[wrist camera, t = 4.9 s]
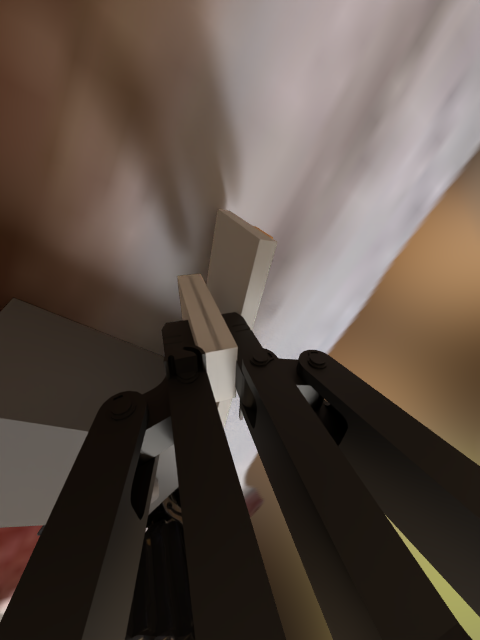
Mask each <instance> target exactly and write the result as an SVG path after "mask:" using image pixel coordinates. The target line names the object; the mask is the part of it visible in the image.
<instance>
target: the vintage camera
mask: <svg viewBox="0 0 480 640" xmlns="http://www.w3.org/2000/svg"><path fill="white" fill-rule="evenodd" d="M44 527H45V525H43V526H42V528H41V529H40V531H39V532H38V533H37V536H38V535H41V533H42V531H43V529H44ZM146 528H148V530H147V531H146V532H145V535H144V540H143V546H142V551H141V556H140V562H139V567H138V572H137V578H136V583H135V588H134V594H133V599H132V604H131V610H130V615H129V620H128V625H127V631H126V636H125V640H195V632H194V623H193V614H192V605H191V595H190V586H189V577H188V568H187V559H186V549H185V540H184V531H183V522H182V513H181V504H180V494H179V487H178V488H177V489H176V490H175V491H173V492H172V493H171V494H170V495H169V496H168V497H167V498H166V499H165V500H164V501H163V502H162V503H161V504H160V505H159V506H157V507H156V508H155V509H154V510H153V511H152V512H151V513H150V514H149V515H148V519H147V525H146Z"/></svg>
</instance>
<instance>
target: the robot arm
mask: <svg viewBox="0 0 480 640" xmlns="http://www.w3.org/2000/svg"><path fill="white" fill-rule="evenodd" d="M177 278H178V286H179V295H180V303H181V312H182V319H183V321H176V322H170V323H166V324H165V326H164V327H163V329H162V336H163V344H164V352H165V356H164V361H163V362H164V367H165V372H166V376H165V378H164V380H163V381H162V382H161V383H160V384H159V385H158V386H157V387H155V388H154V389H152V390H150V391H148V392H146V393H144V394H140V393H139V392H136V391H125V392H120V393H118V394H116V395H113V396H111V397H110V398H109V399H108V400H106V401H105V402H104V403H103V404H102V406H101V407H100V409H99V410H98V412H97V414H96V417H95V419H94V421H93V423H92V425H91V427H90V430H89V432H88V434H87V436H86V438H85V440H84V443H83V445H82V447H81V449H80V451H79V453H78V455H77V458H76V460H75V462H74V464H73V466H72V468H71V471H70V473H69V475H68V477H67V479H66V481H65V484H64V486H63V488H62V490H61V492H60V494H59V496H58V499H57V501H56V503H55V505H54V507H53V509H52V512H51V514H50V516H49V518H48V520H47V522H46V525H45V527H44V529H43V531H42V533H41V535H40V538H39V540H38V542H37V544H36V546H35V548H34V550H33V553H32V555H31V557H30V559H29V561H28V563H27V566H26V568H25V570H24V572H23V574H22V576H21V579H20V581H19V583H18V585H17V587H16V589H15V591H14V594H13V596H12V598H11V600H10V602H9V604H8V607H7V609H6V611H5V613H4V615H3V617H2V620H1V622H0V640H125V636H126V631H127V625H128V620H129V615H130V610H131V604H132V599H133V594H134V588H135V583H136V578H137V572H138V567H139V562H140V556H141V551H142V546H143V540H144V535H145V530H146V525H147V519H148V514H149V509H150V503H151V498H152V493H153V487H154V482H155V477H156V471H157V466H158V461H159V455H160V453H161V452H163V451H164V450H166V449H168V448H169V447H171V446H172V445H174V449H175V458H176V467H177V476H178V485H179V494H180V504H181V513H182V522H183V531H184V540H185V549H186V559H187V568H188V577H189V586H190V595H191V605H192V614H193V623H194V632H195V640H286V638H285V634H284V631H283V628H282V624H281V621H280V618H279V614H278V611H277V607H276V604H275V601H274V597H273V594H272V591H271V587H270V584H269V580H268V577H267V574H266V570H265V567H264V563H263V560H262V557H261V553H260V550H259V546H258V544H257V540H256V536H255V533H254V530H253V526H252V523H251V519H250V516H249V513H248V509H247V506H246V503H245V499H244V496H243V492H242V489H241V486H240V482H239V479H238V475H237V472H236V469H235V465H234V462H233V459H232V455H231V452H230V448H229V445H228V442H227V438H226V435H225V432H224V428H223V425H222V421H221V418H220V415H219V411H218V408H217V405H216V402H220V401H224V400H227V399H231V398H235V397H236V390H237V392H238V395H239V397H240V409H239V418H240V420H243V416H244V418H245V421H246V423H247V426H248V428H249V431H250V433H251V436H252V438H253V441H254V443H255V446H256V448H257V451H258V453H259V456H260V458H261V461H262V463H263V466H264V468H265V471H266V473H267V475H268V478H269V481H270V483H271V486H272V488H273V491H274V493H275V496H276V498H277V501H278V503H279V505H280V508H281V511H282V513H283V516H284V518H285V521H286V523H287V526H288V528H289V531H290V533H291V535H292V538H293V541H294V543H295V546H296V548H297V551H298V553H299V555H300V557H301V560H302V563H303V566H304V568H305V570H306V573H307V575H308V578H309V580H310V583H311V585H312V588H313V590H314V593H315V595H316V598H317V600H318V603H319V605H320V608H321V610H322V613H323V615H324V618H325V620H326V623H327V625H328V628H329V630H330V633H331V635H332V638H333V640H472V639H471V637H470V636H469V635H468V634H467V633H466V632H465V630H464V629H463V628H462V626H461V625H460V624H459V622H458V621H457V619H456V618H455V617H454V615H453V614H452V612H451V611H450V609H449V608H448V606H447V605H446V604H445V602H444V600H443V599H442V598H441V596H440V595H439V593H438V592H437V590H436V589H435V587H434V586H433V584H432V583H431V581H430V580H429V579H428V577H427V576H426V574H425V573H424V571H423V570H422V568H421V567H420V565H419V564H418V562H417V561H416V560H415V558H414V557H413V555H412V554H411V552H410V551H409V549H408V548H407V546H406V545H405V543H404V542H403V541H402V539H401V538H400V536H399V535H398V533H397V532H396V530H395V529H394V527H393V526H392V524H391V523H390V521H389V520H388V519H387V517H388V518H389V519H390V520H391V521H392V522H393V523H394V525H395V526H396V527H397V528H398V529H399V530H400V531H401V532H402V533H403V534H404V535H405V537H406V538H407V539H408V540H409V541H410V542H411V543H412V544H413V545H414V546H415V547H416V548H417V549H418V550H419V552H420V553H421V554H422V555H423V556H424V557H425V558H426V559H427V560H428V561H429V563H431V565H432V566H433V567H434V568H435V569H436V570H437V571H438V572H439V573H440V574H441V575H442V576H443V578H444V579H445V580H446V581H447V582H448V583H449V584H450V585H451V586H452V588H453V589H454V590H455V591H456V592H457V593H458V594H459V595H460V596H461V597H462V598H463V599H464V601H465V602H466V603H467V604H468V605H469V606H470V607H471V608H472V609H473V610H474V611H475V612H476V614H477V615H478V616H479V617H480V466H479V465H477V464H476V463H475V462H473V461H472V460H471V459H469V458H468V457H466V456H465V455H464V454H462V453H461V452H459V451H458V450H457V449H456V448H454V447H453V446H451V445H450V444H449V443H447V442H446V441H444V440H443V439H442V438H440V437H439V436H438V435H436V434H435V433H434V432H432V431H431V430H430V429H428V428H427V427H425V426H424V425H423V424H421V423H420V422H418V421H417V420H416V419H415V418H413V417H412V416H410V415H409V414H408V413H407V412H405V411H404V410H402V409H401V408H400V407H398V406H397V405H396V404H394V403H393V402H392V401H390V400H389V399H387V398H386V397H385V396H383V395H382V394H381V393H379V392H378V391H377V390H375V389H374V388H372V387H371V386H370V385H368V384H367V383H366V382H364V381H363V380H362V379H360V378H359V377H357V376H356V375H355V374H353V373H352V372H351V371H349V370H348V369H347V368H345V367H344V366H343V365H341V364H340V363H338V362H337V361H336V360H334V359H333V358H332V357H330V356H329V355H327V354H325V353H324V352H321V351H317V350H307V351H304V352H302V353H301V354H300V356H299V359H298V360H295V359H280V358H277V356H276V355H275V354H274V353H273V352H271V351H269V350H267V349H263V348H262V346H261V344H260V343H259V341H258V340H257V338H256V337H255V335H254V333H253V332H252V330H250V327H249V326H248V325H247V322H246V321H245V319H244V318H243V317H242V316H241V315H239V314H238V313H236V312H231V313H225V314H221V313H220V311H219V309H218V307H217V305H216V303H215V301H214V299H213V297H212V295H211V293H210V291H209V289H208V287H207V285H206V283H205V281H204V279H203V277H202V276H201V274H192V275H182V276H177ZM324 399H325V400H324ZM327 401H328V402H327ZM385 515H386V516H387V517H386V516H385Z"/></svg>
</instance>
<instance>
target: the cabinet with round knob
mask: <svg viewBox="0 0 480 640" xmlns="http://www.w3.org/2000/svg"><path fill="white" fill-rule="evenodd" d="M163 361H164V357H163V356H161V355H158V354H155V353H153V352H150V351H148V350H145V349H143V348H140V347H138V346H135V345H133V344H130V343H128V342H125V341H122V340H120V339H117V338H115V337H112V336H110V335H107V334H105V333H102V332H100V331H97V330H94V329H92V328H89V327H87V326H84V325H82V324H79V323H77V322H74V321H72V320H69V319H67V318H64V317H61V316H59V315H56V314H54V313H51V312H49V311H46V310H44V309H41V308H39V307H36V306H34V305H31V304H28V303H26V302H23V301H21V300H18V299H16V298H13V299H12V300H11V301H10V302H9V303H8V304H7V305H6V306H5V307H4V309H3V310H2V311H1V312H0V527H18V526H36V525H46V522H47V520H48V518H49V516H50V514H51V512H52V509H53V507H54V505H55V503H56V501H57V499H58V496H59V494H60V492H61V490H62V488H63V486H64V484H65V481H66V479H67V477H68V475H69V473H70V471H71V468H72V466H73V464H74V462H75V460H76V458H77V455H78V453H79V451H80V449H81V447H82V445H83V443H84V440H85V438H86V436H87V434H88V432H89V430H90V427H91V425H92V423H93V421H94V419H95V417H96V414H97V412H98V410H99V409H100V407H101V406H102V404H103V403H104V402H105V401H106V400H108V399H109V398H110V397H111V396H113V395H116V394H118V393H120V392H125V391H136V392H139V393H140V394H144V393H146V392H148V391H150V390H152V389H154V388H155V387H157V386H158V385H159V384H160V383H161V382H162V381H163V380H164V378H165V376H166V372H165V367H164V362H163ZM178 487H179V485H178V476H177V467H176V458H175V449H174V445H172V446H171V447H169V448H168V449H166V450H164V451H163V452H161V453H160V455H159V461H158V466H157V471H156V477H155V482H154V487H153V493H152V498H151V503H150V509H149V514H150V513H151V512H152V511H153V510H154V509H155V508H156V507H157V506H159V505H160V504H161V503H162V502H163V501H164V500H165V499H166V498H167V497H168V496H169V495H170V494H171V493H172V492H173V491H175V490H176V489H177V488H178ZM149 514H148V515H149Z"/></svg>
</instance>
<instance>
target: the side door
mask: <svg viewBox="0 0 480 640" xmlns="http://www.w3.org/2000/svg"><path fill="white" fill-rule="evenodd" d="M276 245H277V241H275V240H274V239H273V237H271V236H270V235H268V234H267V233H265V232H263V231H262V230H260V229H259V228H257V227H255V226H252V225H251V224H249V223H248V222H246V221H244V220H243V219H241V218H240V217H238V216H237V215H235V214H234V213H232V212H231V211H228V210H222V209H218V210H217V217H216V223H215V230H214V237H213V243H212V250H211V256H210V263H209V269H208V276H207V283H206V285H207V287H208V289H209V291H210V293H211V295H212V297H213V299H214V301H215V303H216V305H217V307H218V309H219V311H220V313H221V314H225V313H231V312H236V313H238V314H239V315H241V316H242V317H243V318H244V319H245V321H246V322H247V325H248V326H249V327H250V330H252V329H253V325H254V322H255V318H256V315H257V311H258V308H259V304H260V301H261V297H262V294H263V290H264V287H265V283H266V280H267V276H268V273H269V269H270V266H271V262H272V259H273V255H274V252H275V248H276ZM231 402H232V398H231V399H227V400H224V401H220V402H216V405H217V408H218V411H219V415H220V418H221V421H222V425H223V428H224V426H225V423H226V419H227V416H228V412H229V409H230V405H231Z"/></svg>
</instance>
